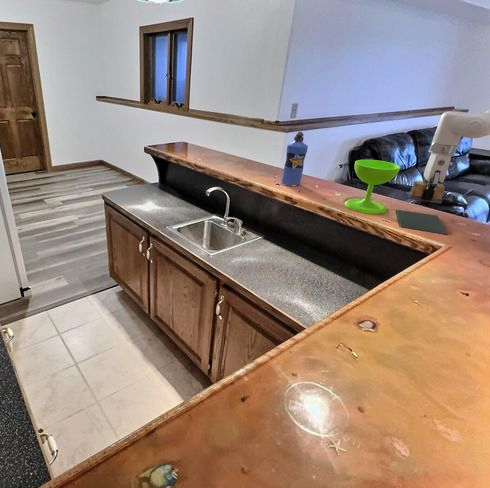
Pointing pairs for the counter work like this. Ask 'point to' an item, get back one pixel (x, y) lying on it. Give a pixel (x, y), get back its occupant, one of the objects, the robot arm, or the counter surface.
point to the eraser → (419, 189)
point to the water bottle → (294, 161)
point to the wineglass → (372, 184)
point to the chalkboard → (420, 222)
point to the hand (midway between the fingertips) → (424, 197)
